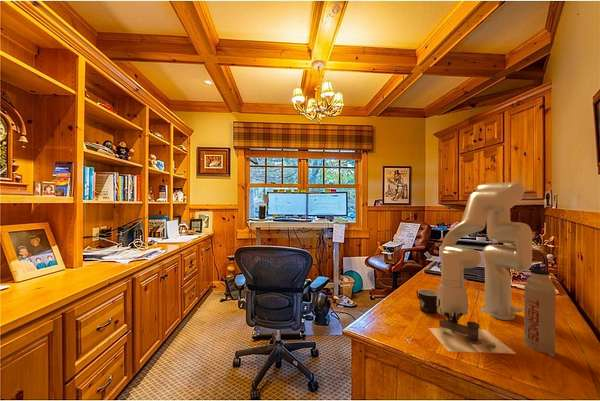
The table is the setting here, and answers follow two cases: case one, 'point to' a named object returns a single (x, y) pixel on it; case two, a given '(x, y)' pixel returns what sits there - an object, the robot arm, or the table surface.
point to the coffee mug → (427, 301)
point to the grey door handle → (464, 329)
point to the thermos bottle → (539, 312)
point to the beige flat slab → (469, 342)
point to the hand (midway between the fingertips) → (452, 328)
